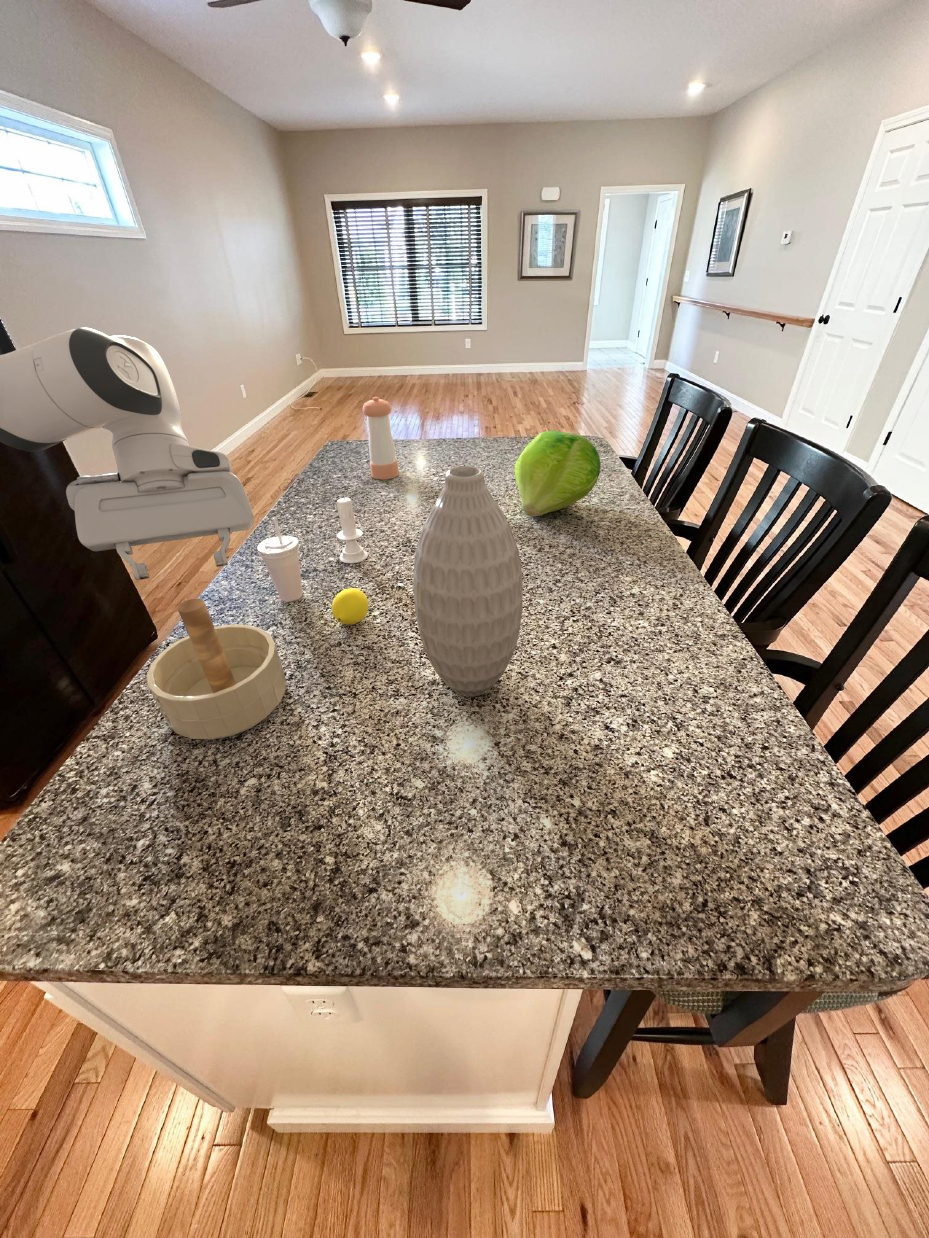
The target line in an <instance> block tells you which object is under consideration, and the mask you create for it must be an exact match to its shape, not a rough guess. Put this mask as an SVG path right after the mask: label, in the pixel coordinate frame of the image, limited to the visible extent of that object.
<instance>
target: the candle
mask: <svg viewBox="0 0 929 1238" xmlns="http://www.w3.org/2000/svg"><path fill="white" fill-rule="evenodd" d="M336 507H337V515H338V517H339V521H340V526H341V531H338V533H337V534H336V537H337V538H338V539H339V540H341V541H345V545H344V548H343V549H342V550H341V551H342V552H341V554H340V556H339V561H340V562H342V563H345V564H358V563H362V562H364V561H365V560H366V559H367V558H368V556H369V554H368V552H367V551H366V550H364V548H363V546H362V545H360V544H359V543H358V541H357V540H358V539H359V538H361V537H362V536H363V535H364V534H363V533H364V532H363V531H362V530H361V529H358V528H357V524H356V519H355V513H354V506H353V501H352V499H351V498H350V497H343V498H342V497H341V498H339V499H338V500H336Z"/></svg>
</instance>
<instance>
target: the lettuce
mask: <svg viewBox="0 0 929 1238" xmlns="http://www.w3.org/2000/svg"><path fill="white" fill-rule="evenodd" d="M601 464H602V462H601V458H600V454H599V452H598V450H597V448H596V446H595V445H594V444H592V442H591V441H590V440H588V439H587V437H584V436H582V435H580V434H575V433H571V432H564V431H559V430H554V429H553V430H552V429H551V430H547V431H543V432H539V433H538V435H536V436H535V437H534V438H533V439H532V440H531V441H530V442H529V443H528V444H527V445H526V446H525V448H524V449H523V451H522V452H521V454H520V455H519V456H518V458H517V459H516V462H515V464H514V479H515V482H516V485H517V488H518V490H519V493H520V499H521V507H522V509H523V510H524V513H526V514H527V515H528V516H531V517H536V516H543V515H546V514H548V513H549V514H550V513H553V512H557V511H559V510H562V509H564V508H567V507H570V506H572V505H573V504H575V503H577V502H578V501H581V500H582V499H583V498H585V497H586V496H588V494H589V493H590V492H591V491H592V490H593V489H594V487H595V485H596V484H597V482H598V480H599V477H600V474H601Z"/></svg>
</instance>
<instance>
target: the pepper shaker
mask: <svg viewBox="0 0 929 1238" xmlns="http://www.w3.org/2000/svg"><path fill="white" fill-rule="evenodd" d="M362 412H363V414H364V415H365V416H366V421H367V429H368V452H369V458H370V461H369V469H370V476H371V478H372V479H375V480H389V479H393V478H396V477H398V476H399V474H400V471H399V461H398V459H397V457H396V446H395V442H394V438H393V434H392V430H391V420H390V414H391V413H392V405H391V404H390V403H389V401H387V400H385V399H380V397H379V396H373V397H372V399H370V400H367V401H366V402H365V403H363V405H362Z"/></svg>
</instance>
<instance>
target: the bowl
mask: <svg viewBox="0 0 929 1238" xmlns="http://www.w3.org/2000/svg"><path fill="white" fill-rule="evenodd" d="M214 628H215V631H216V633H217V636H218V638H219V641H220V644H221V646H222V649H223V651H224V654H225V657H226V659H227V662H228V664H229V667H230V670H231V672H232V675H233V677H234V680H235V683H236V685H234V686H232V687H229V688H227V689H224V690H221V691H218V692H216V693H213V691H212V689H211V687H210V684H209V682H208V679H207V677H206V675H205V672H204V670H203V668H202V665H201V663H200V661H199V658H198V656H197V654H196V651H195V649H194V646H193V644H192V642H191V639H190V637H189V635H186V636H184V637H182V638H180V639H178V640H177V641H175V642H173V643H172V644H170V645H169V646H168V647H166V648H164V650H162V651H161V652H160V653H159V654H158V656H157V657H156V658H155V659H154V660H153V661H152V662H151V664H150V666H149V668H148V670H147V673H146V683H147V688H148V690H149V691H150V693H151V695H152V698H153V699H154V701H155V703H156V705H157V707H158V708H159V711H160V712H161V715H162V716H163V719H164V720H165V722H166V725H168V726H169V727H170V729H171V730H173V732H174V733H176V734H177V735H180V736H184V737H185V738H189V739H192V740H193V739H195V740H218V739H224V738H228V737H232V736H235V735H238V734H241V733H243V732H246V731H248V730H249V729H251V728H253V727H254V726H256V725H258V724H259V723H261V722H262V721H264V720H265V719H266V718H267V717H268V716H269V715H271V713H273V712H274V710H275V708H277V706H278V705H280V703H281V701H282V699H283V697H284V696H285V693H286V689H287V678H286V675H285V672H284V669H283V665H282V662H281V659H280V655H279V652H278V649H277V646H276V643H275V641H274V638H273V637H272V635H271V634H270V633H269V632H267V631H266V630H264V629H263V628H261V627H257V626H254V625H250V624H236V623H235V624H233V623H229V624H223V625H215V626H214Z"/></svg>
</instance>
